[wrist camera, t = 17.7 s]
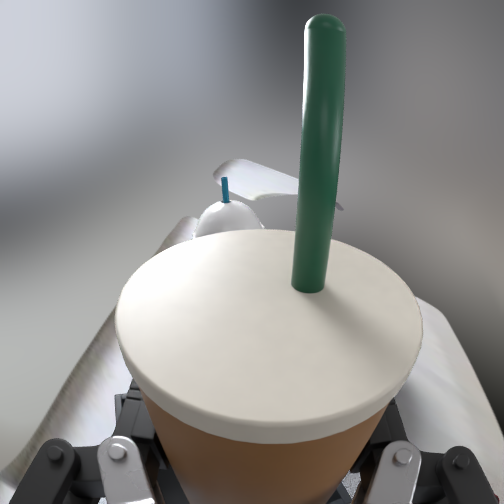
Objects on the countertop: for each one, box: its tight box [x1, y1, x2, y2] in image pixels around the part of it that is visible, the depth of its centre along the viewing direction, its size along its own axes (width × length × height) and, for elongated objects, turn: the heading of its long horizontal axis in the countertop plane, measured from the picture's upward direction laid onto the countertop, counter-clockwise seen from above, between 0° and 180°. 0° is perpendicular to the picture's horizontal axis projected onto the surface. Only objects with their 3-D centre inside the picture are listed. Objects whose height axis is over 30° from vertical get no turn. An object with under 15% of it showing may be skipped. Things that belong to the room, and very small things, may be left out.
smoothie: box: [192, 177, 265, 239], centre depth 39 cm, size 8×8×20 cm
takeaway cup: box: [115, 14, 423, 504], centre depth 8 cm, size 6×6×17 cm
